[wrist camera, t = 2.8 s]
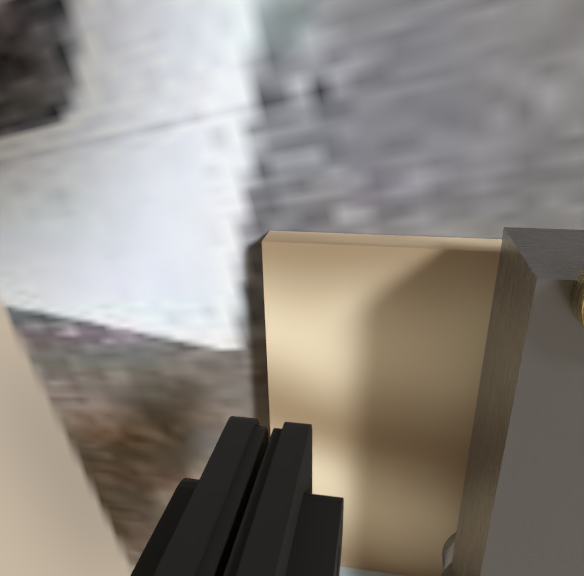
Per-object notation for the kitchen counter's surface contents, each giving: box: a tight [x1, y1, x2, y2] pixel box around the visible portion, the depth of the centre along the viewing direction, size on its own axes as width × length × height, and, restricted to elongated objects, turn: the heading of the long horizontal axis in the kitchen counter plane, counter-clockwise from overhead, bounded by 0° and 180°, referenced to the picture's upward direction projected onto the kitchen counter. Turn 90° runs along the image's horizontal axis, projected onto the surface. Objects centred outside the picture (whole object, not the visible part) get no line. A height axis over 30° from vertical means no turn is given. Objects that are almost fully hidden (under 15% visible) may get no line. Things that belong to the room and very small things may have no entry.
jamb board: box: [262, 231, 502, 576], centre depth 19 cm, size 25×12×1 cm, turn 1°
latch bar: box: [441, 227, 584, 576], centre depth 12 cm, size 14×4×4 cm, turn 1°
